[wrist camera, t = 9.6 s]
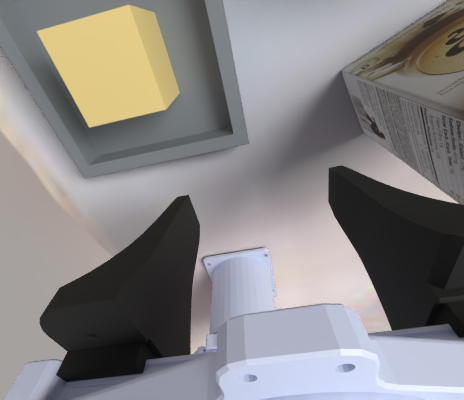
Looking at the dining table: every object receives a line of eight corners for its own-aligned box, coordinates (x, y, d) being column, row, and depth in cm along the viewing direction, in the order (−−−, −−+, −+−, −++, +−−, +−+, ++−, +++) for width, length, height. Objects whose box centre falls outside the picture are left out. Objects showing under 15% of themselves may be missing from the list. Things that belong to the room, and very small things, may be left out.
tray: (246, 131, 21) (249, 143, 19) (99, 163, 23) (84, 178, 20) (201, -111, 14) (196, -141, 11) (-18, -39, 15) (-62, -52, 13)
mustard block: (179, 92, 19) (166, 109, 15) (119, 107, 19) (89, 127, 15) (154, 12, 16) (128, 4, 12) (84, 32, 16) (36, 31, 12)
